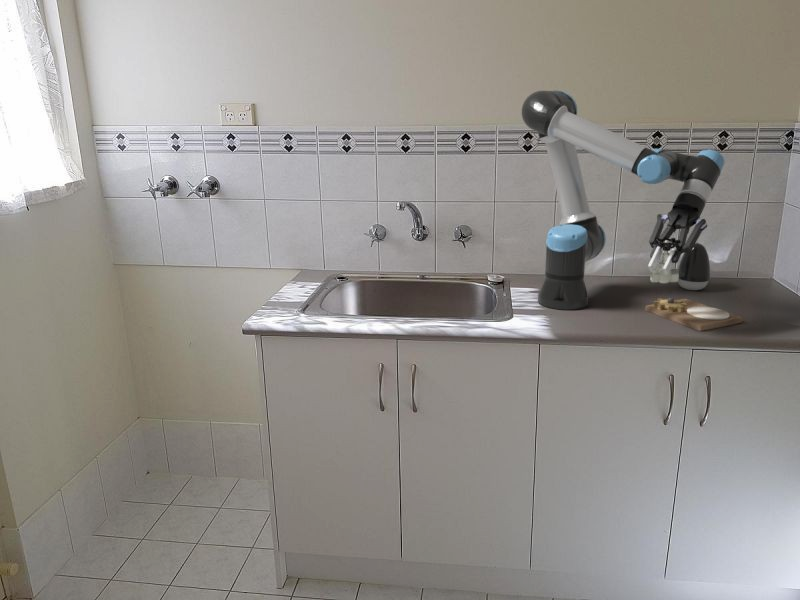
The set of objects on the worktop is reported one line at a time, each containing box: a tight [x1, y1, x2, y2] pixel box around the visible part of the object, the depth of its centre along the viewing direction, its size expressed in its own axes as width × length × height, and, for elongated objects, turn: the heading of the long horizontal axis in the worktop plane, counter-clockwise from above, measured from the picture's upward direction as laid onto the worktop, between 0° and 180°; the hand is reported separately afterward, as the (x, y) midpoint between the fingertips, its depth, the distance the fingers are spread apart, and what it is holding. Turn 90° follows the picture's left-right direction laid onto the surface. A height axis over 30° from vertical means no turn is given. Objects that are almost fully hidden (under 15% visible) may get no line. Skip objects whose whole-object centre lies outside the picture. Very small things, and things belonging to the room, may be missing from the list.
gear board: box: [644, 297, 744, 332], centre depth 184 cm, size 20×16×4 cm
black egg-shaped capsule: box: [677, 242, 711, 291], centre depth 209 cm, size 10×10×15 cm
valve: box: [650, 237, 680, 284], centre depth 172 cm, size 7×7×12 cm
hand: (658, 270), depth 170 cm, fingers closed on valve, 3 cm apart
